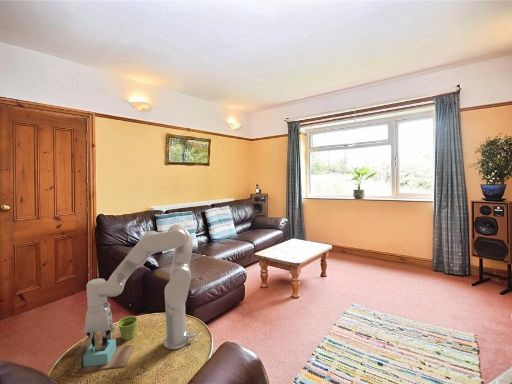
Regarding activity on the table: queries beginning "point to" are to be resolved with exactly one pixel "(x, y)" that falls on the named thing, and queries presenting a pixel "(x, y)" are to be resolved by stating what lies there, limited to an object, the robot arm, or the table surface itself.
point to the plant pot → (127, 327)
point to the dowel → (98, 341)
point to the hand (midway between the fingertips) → (99, 344)
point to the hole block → (99, 354)
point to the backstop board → (116, 361)
